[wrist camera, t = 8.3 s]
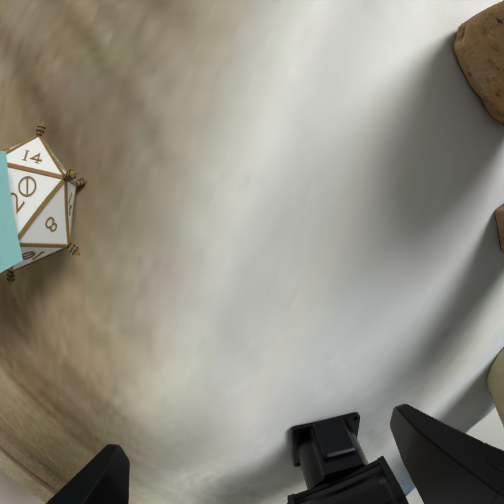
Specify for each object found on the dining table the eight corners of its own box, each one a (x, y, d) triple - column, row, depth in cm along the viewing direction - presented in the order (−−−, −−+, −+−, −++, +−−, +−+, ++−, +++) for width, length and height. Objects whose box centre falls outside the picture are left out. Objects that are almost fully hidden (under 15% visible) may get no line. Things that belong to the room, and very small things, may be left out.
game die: (71, 168, 21) (38, 69, 12) (126, 242, 20) (96, 144, 11) (-13, 235, 17) (-80, 160, 8) (31, 323, 16) (-61, 277, 7)
